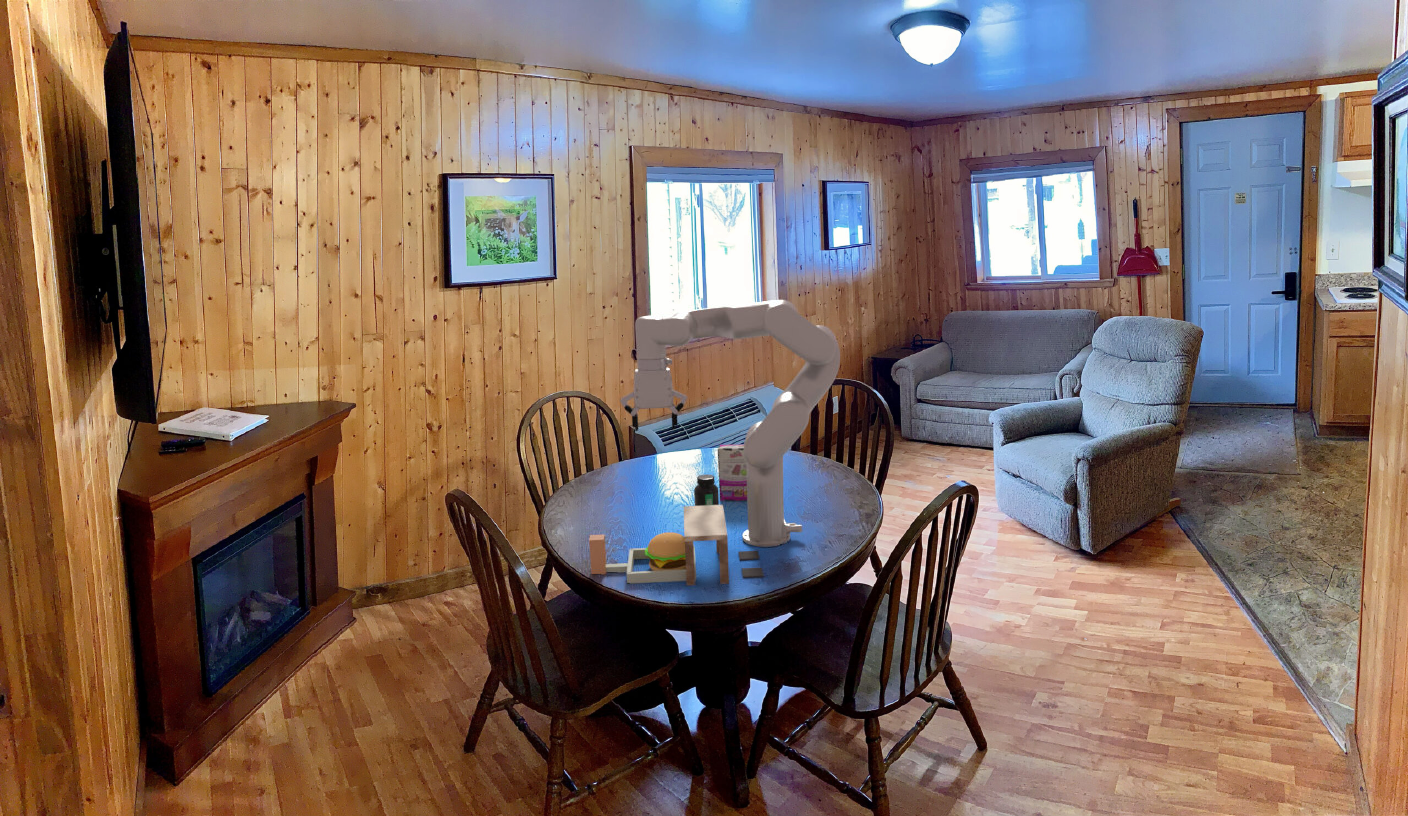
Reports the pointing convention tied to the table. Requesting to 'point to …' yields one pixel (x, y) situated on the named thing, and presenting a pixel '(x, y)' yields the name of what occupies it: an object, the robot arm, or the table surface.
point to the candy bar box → (732, 473)
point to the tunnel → (705, 537)
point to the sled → (630, 564)
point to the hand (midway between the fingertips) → (655, 428)
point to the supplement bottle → (706, 491)
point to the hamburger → (667, 552)
